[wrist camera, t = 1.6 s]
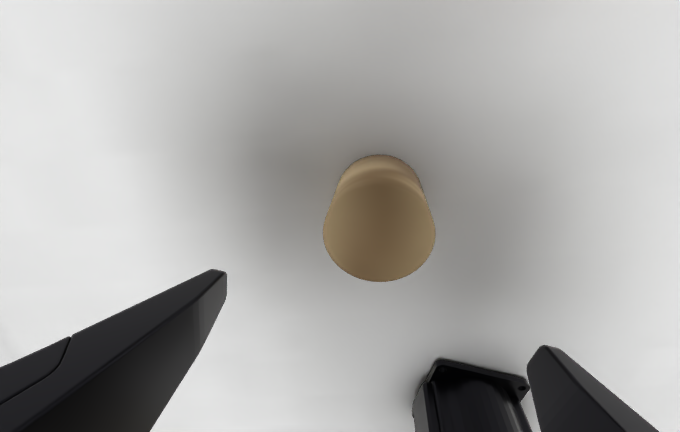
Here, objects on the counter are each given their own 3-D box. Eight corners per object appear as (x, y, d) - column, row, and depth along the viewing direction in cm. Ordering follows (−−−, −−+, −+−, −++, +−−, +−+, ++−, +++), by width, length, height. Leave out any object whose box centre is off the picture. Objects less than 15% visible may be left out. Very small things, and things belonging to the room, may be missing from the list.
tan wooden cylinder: (433, 164, 15) (451, 198, 11) (408, 240, 17) (415, 291, 13) (345, 146, 15) (332, 173, 11) (330, 223, 18) (315, 269, 14)
